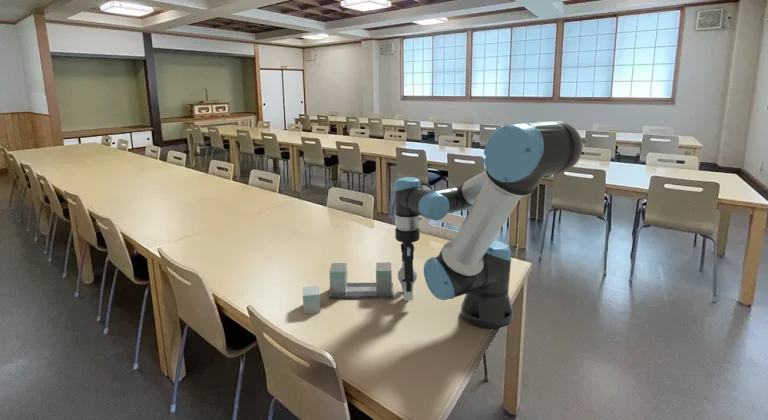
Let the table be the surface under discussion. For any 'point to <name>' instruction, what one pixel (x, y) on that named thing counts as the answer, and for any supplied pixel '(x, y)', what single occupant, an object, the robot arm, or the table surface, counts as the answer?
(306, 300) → the module
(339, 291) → the grey u-shaped piece
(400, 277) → the lightbulb
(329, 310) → the table surface
